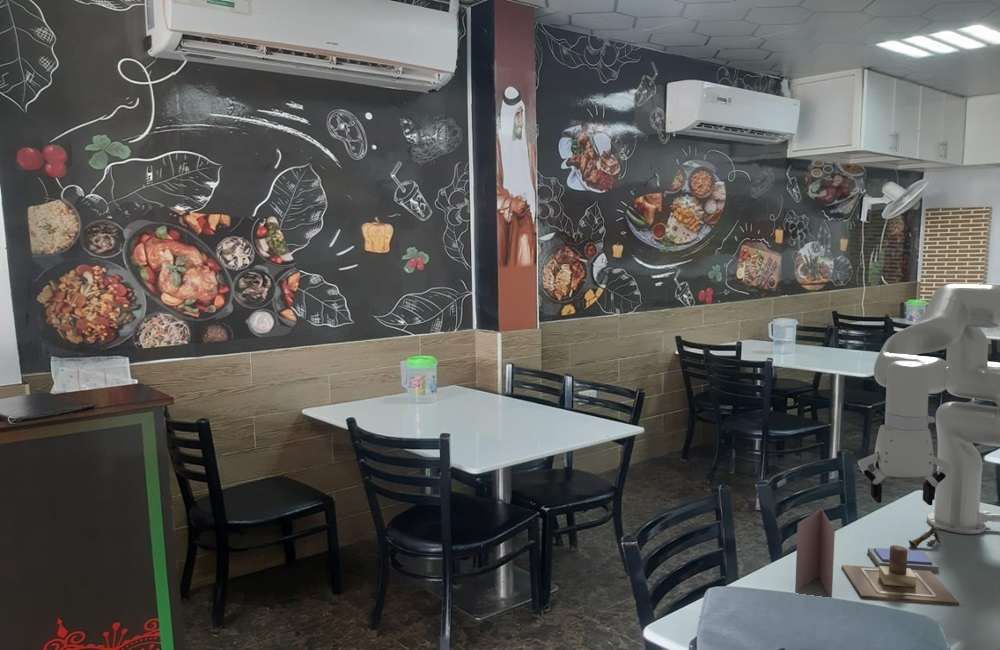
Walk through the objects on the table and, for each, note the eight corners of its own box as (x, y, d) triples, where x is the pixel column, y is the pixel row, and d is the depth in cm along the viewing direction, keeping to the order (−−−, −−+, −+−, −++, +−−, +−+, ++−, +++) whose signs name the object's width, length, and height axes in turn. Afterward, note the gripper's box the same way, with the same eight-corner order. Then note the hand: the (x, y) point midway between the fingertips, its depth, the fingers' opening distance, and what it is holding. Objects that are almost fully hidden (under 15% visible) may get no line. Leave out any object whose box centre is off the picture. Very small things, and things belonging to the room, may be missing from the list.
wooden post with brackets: (945, 541, 169) (940, 525, 168) (919, 558, 168) (914, 542, 167) (939, 538, 171) (934, 522, 170) (913, 555, 169) (908, 539, 168)
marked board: (930, 573, 155) (930, 570, 155) (959, 605, 141) (959, 601, 141) (841, 567, 158) (841, 564, 158) (861, 598, 144) (861, 594, 144)
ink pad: (923, 556, 163) (924, 549, 163) (938, 572, 155) (938, 564, 155) (867, 552, 165) (867, 545, 165) (879, 568, 158) (879, 560, 157)
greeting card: (814, 574, 155) (817, 507, 154) (850, 585, 150) (853, 516, 148) (791, 591, 147) (793, 522, 146) (827, 604, 142) (830, 532, 140)
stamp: (909, 579, 151) (911, 545, 150) (916, 588, 147) (917, 553, 146) (878, 577, 152) (880, 543, 151) (884, 585, 148) (885, 551, 147)
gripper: (944, 417, 148) (940, 497, 150) (854, 416, 151) (851, 493, 153) (960, 427, 140) (955, 510, 143) (866, 425, 144) (862, 506, 146)
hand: (902, 501), depth 148 cm, fingers open, 9 cm apart
